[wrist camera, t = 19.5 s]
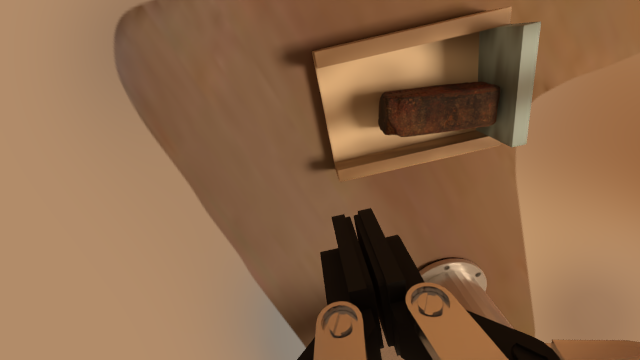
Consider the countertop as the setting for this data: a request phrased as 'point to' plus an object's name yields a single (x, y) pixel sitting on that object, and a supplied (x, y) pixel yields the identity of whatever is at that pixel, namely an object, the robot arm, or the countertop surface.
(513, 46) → the rail board
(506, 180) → the countertop surface
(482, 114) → the brick
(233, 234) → the countertop surface
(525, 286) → the countertop surface
